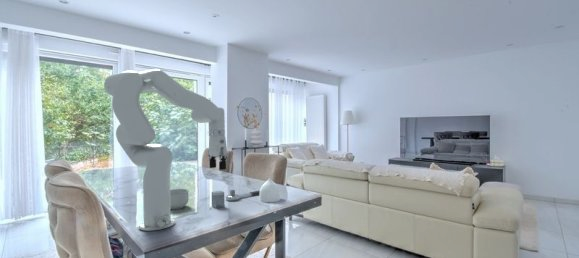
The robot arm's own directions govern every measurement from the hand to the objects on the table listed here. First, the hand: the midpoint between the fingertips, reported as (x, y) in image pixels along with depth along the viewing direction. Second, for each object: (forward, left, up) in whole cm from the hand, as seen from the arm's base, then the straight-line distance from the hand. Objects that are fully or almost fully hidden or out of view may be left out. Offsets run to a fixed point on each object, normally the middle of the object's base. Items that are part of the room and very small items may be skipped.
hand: (217, 168), depth 135 cm
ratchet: (+7, -20, -18) cm, 28 cm away
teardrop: (-7, -26, -19) cm, 33 cm away
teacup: (+14, +16, -19) cm, 28 cm away
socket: (0, 0, -18) cm, 18 cm away
